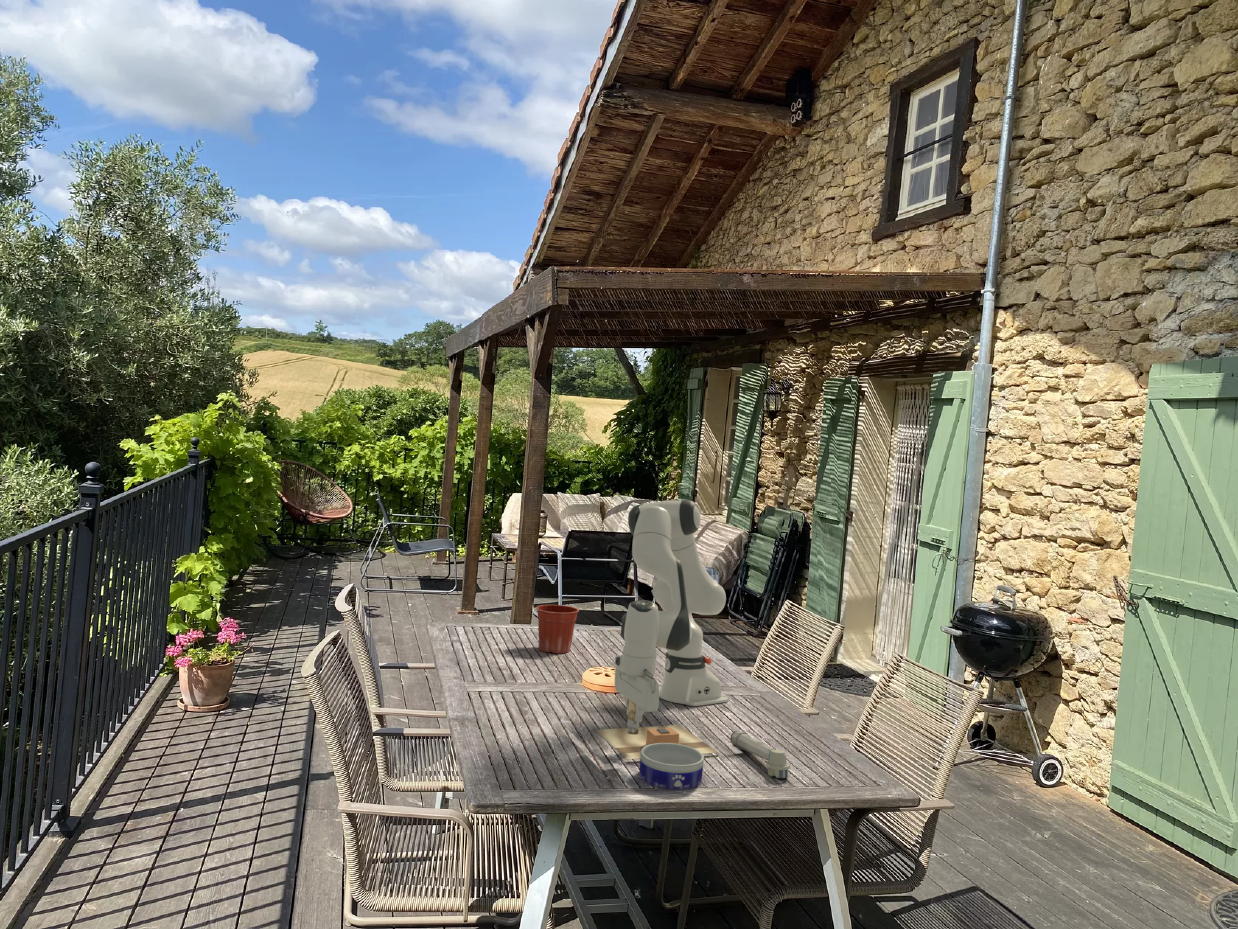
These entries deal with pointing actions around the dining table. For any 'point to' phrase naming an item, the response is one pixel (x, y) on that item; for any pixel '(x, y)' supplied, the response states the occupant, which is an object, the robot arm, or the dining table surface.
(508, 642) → the dining table surface
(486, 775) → the dining table surface
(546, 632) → the flower pot
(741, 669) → the dining table surface
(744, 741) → the angle head flashlight
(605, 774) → the dining table surface
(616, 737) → the panel
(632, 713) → the amber glass vial
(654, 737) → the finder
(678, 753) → the dog bowl
